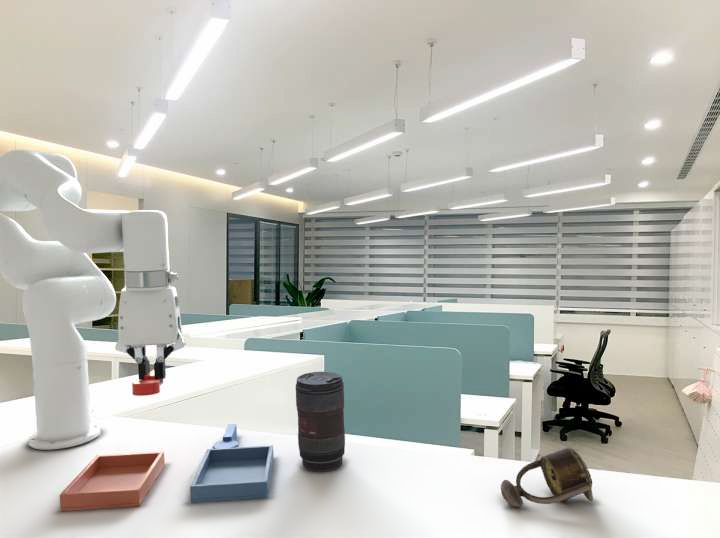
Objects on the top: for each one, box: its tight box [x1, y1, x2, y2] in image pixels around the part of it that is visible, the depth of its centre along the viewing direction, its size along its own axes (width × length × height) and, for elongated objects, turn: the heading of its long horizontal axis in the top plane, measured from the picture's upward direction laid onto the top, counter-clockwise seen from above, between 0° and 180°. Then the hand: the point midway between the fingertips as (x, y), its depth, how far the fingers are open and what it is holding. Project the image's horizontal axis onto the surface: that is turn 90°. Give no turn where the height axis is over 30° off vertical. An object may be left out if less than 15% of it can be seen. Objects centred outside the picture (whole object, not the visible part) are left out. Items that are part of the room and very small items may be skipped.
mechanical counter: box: [500, 446, 594, 508], centre depth 84 cm, size 7×13×10 cm
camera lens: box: [295, 371, 346, 472], centre depth 98 cm, size 8×8×15 cm
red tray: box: [59, 451, 166, 512], centre depth 92 cm, size 15×11×2 cm
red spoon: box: [131, 369, 164, 397], centre depth 103 cm, size 11×4×3 cm, turn 6°
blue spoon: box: [212, 423, 239, 449], centre depth 107 cm, size 11×4×3 cm, turn 5°
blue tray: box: [189, 444, 275, 504], centre depth 94 cm, size 15×11×2 cm
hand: (152, 382), depth 104 cm, fingers closed on red spoon, 1 cm apart
